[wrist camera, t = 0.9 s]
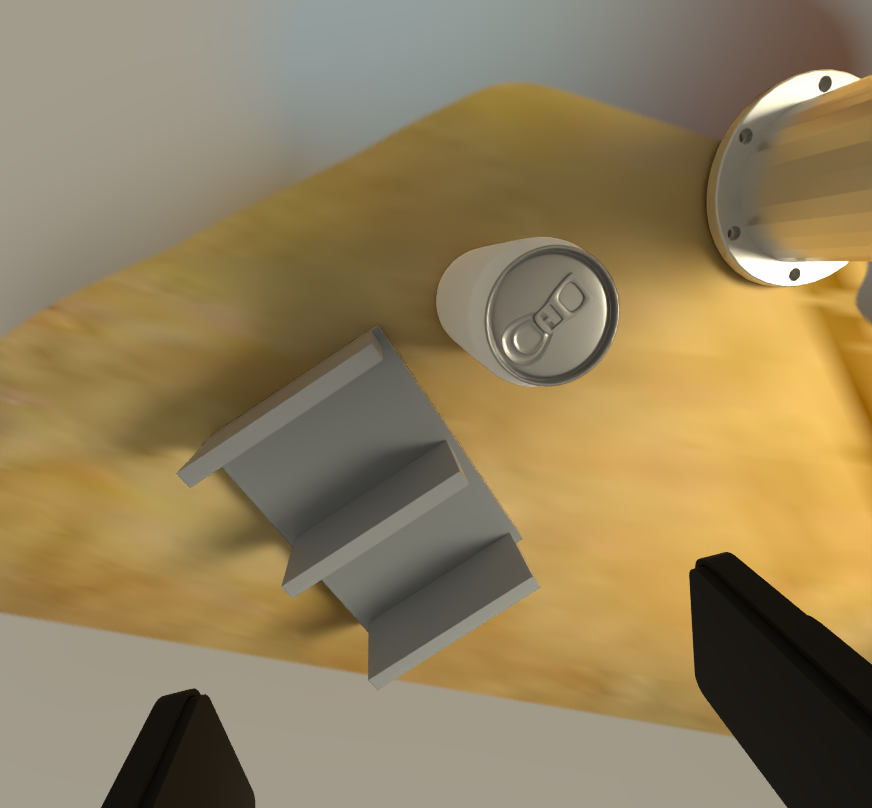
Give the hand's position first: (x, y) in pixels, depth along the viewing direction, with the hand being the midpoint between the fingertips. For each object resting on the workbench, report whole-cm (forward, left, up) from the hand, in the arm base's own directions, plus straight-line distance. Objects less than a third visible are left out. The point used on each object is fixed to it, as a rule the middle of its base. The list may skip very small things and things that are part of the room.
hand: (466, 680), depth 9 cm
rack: (+5, +5, -23) cm, 24 cm away
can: (-8, -2, -24) cm, 25 cm away
